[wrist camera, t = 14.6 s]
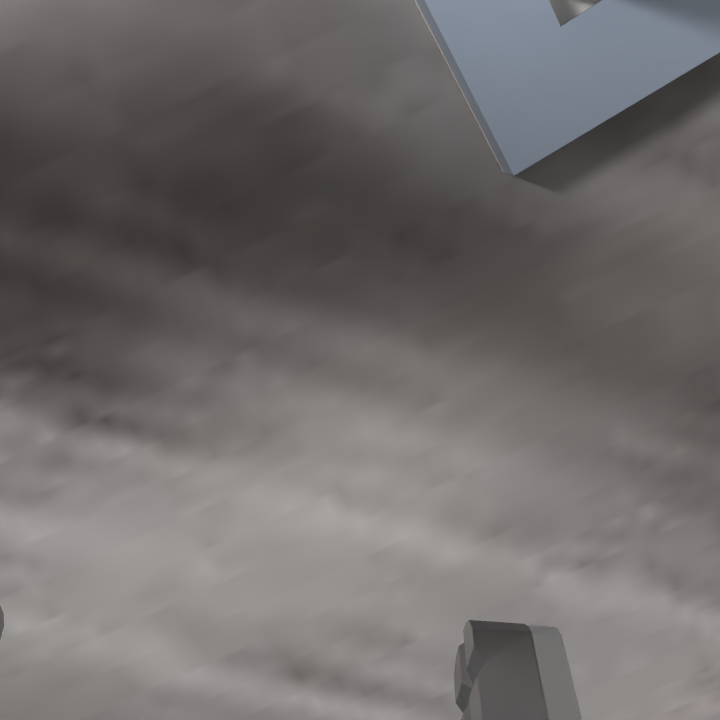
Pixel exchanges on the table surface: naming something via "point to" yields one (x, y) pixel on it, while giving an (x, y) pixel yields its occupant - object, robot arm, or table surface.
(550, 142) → the blue-gray square socket base
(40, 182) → the table surface
